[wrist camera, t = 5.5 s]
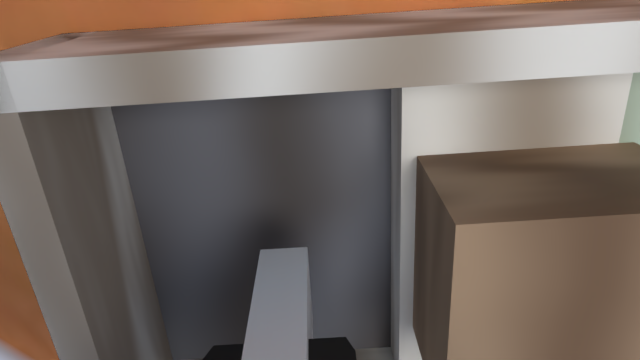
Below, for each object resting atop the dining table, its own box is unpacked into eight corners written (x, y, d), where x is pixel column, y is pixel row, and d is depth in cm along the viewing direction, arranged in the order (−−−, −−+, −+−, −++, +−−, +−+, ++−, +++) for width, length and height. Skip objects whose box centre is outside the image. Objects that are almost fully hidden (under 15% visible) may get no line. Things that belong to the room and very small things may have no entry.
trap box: (154, 374, 22) (109, 493, 17) (61, 33, 16) (-51, 64, 11) (928, 327, 22) (1109, 433, 17) (1143, -37, 16) (1529, -37, 11)
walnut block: (412, 326, 18) (442, 430, 14) (416, 155, 15) (455, 225, 11) (595, 314, 18) (678, 416, 14) (634, 142, 15) (753, 206, 11)
